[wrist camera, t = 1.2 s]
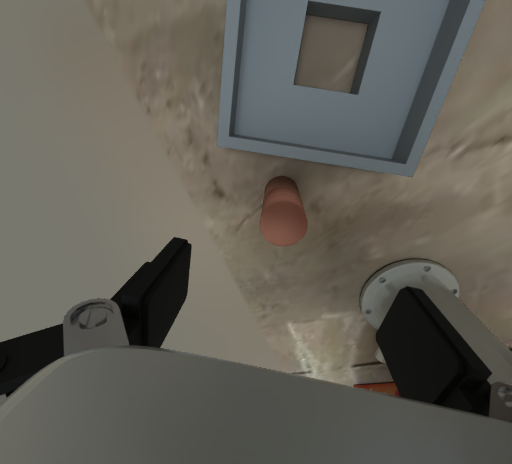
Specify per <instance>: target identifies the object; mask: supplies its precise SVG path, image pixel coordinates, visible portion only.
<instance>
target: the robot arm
mask: <svg viewBox="0 0 512 464" xmlns="http://www.w3.org/2000/svg"><path fill="white" fill-rule="evenodd" d="M190 257H191V244H189V243H188V241H187V240H185V239H180V238H176V237H174V238H173V239H172V240H171V241H170V242H169V243H168V244H167V245H166V246H165V247H164V249H163V250H162V251H161V252H160V253H159V254H158V255H157V256H156V257H155V259H154V260H153V261H152V262H146V263H145V264H144V265H142V266H141V268H140V269H139V270H138V271H137V272H136V273H135V274H134V275H133V276H132V277H131V278H130V279H129V280H128V281H127V282H126V283H125V285H123V287H122V288H121V289H120V290H119V291H118V292H117V293H116V294H115V295H114V296H113V297H112V298H111V299H110V300H108V299H101V298H100V299H99V298H98V299H90V300H87V301H84V302H81V303H79V304H77V305H75V306H74V307H72V308H71V309H70V310H69V311H68V312H67V313H66V315H65V316H64V320H63V324H60V325H56V326H53V327H50V328H46V329H43V330H40V331H37V332H33V333H30V334H26V335H23V336H20V337H17V338H13V339H10V340H7V341H3V342H0V464H512V352H511V351H510V350H509V349H508V348H507V347H506V346H505V345H504V344H503V343H502V342H501V341H500V340H499V339H498V338H497V337H496V336H495V335H494V334H493V333H492V332H491V331H490V330H489V329H488V328H487V327H486V326H485V325H484V324H483V323H482V322H481V321H480V320H479V319H478V318H477V317H476V316H475V315H474V314H473V313H472V312H471V311H470V310H469V309H468V308H467V307H466V306H465V305H464V304H463V303H462V302H461V301H460V300H459V296H460V288H459V284H458V281H457V280H456V278H455V277H454V275H453V274H452V273H451V272H449V271H448V270H447V269H446V268H445V267H443V266H442V265H440V264H438V263H435V262H433V261H428V260H423V259H411V260H403V261H400V262H396V263H393V264H391V265H389V266H386V267H384V268H383V269H381V270H380V271H378V272H377V273H376V274H374V275H373V276H372V277H371V278H370V279H369V280H368V282H367V283H366V284H365V286H364V288H363V290H362V293H361V296H360V306H361V311H362V313H363V315H364V317H365V319H366V320H367V322H368V323H369V324H370V325H371V326H373V327H374V328H376V329H377V330H378V331H377V333H376V341H377V343H378V348H377V350H376V352H375V357H376V358H377V360H378V361H380V362H382V363H386V364H387V366H388V368H389V371H390V373H391V375H392V378H393V380H394V382H395V385H396V387H397V389H398V391H399V394H400V396H401V397H398V396H393V395H389V394H384V393H380V392H375V391H371V390H366V389H361V388H356V387H352V386H347V385H342V384H338V383H333V382H328V381H324V380H319V379H314V378H309V377H305V376H300V375H295V374H290V373H286V372H281V371H276V370H271V369H266V368H261V367H256V366H252V365H247V364H242V363H237V362H232V361H227V360H222V359H217V358H212V357H207V356H202V355H197V354H192V353H186V352H180V351H175V350H169V349H163V348H160V347H161V345H162V343H163V341H164V339H165V337H166V335H167V333H168V332H169V330H170V328H171V326H172V324H173V322H174V320H175V319H176V317H177V315H178V313H179V311H180V309H181V307H182V305H183V303H184V301H185V299H186V296H187V291H188V280H189V269H190Z"/></svg>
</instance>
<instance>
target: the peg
mask: <svg viewBox="0 0 512 464" xmlns="http://www.w3.org/2000/svg"><path fill="white" fill-rule="evenodd" d="M260 228H261V232H262V234H263V236H264V237H265V238H266V239H267V240H268V241H269V242H271V243H273V244H275V245H279V246H288V245H292V244H294V243H296V242H298V241H299V240H300V239H301V238H302V237H303V236H304V235H305V233H306V230H307V218H306V215H305V211H304V208H303V205H302V201H301V198H300V195H299V191H298V188H297V185H296V183H295V182H294V181H293V180H292V179H290V178H288V177H285V176H279V177H275V178H273V179H272V180H270V181H269V182H268V184H267V186H266V188H265V194H264V201H263V208H262V214H261V221H260Z"/></svg>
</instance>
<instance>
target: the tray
mask: <svg viewBox="0 0 512 464" xmlns="http://www.w3.org/2000/svg"><path fill="white" fill-rule="evenodd" d="M484 3H485V0H227V9H226V23H225V37H224V51H223V66H222V80H221V94H220V108H219V123H218V137H217V146H218V147H225V148H231V149H237V150H244V151H250V152H256V153H263V154H269V155H275V156H282V157H288V158H294V159H301V160H307V161H313V162H320V163H326V164H332V165H339V166H345V167H351V168H358V169H364V170H370V171H377V172H383V173H389V174H396V175H402V176H408V177H413V175H414V172H415V170H416V167H417V165H418V163H419V160H420V158H421V155H422V153H423V150H424V148H425V146H426V143H427V141H428V138H429V136H430V134H431V131H432V129H433V126H434V124H435V121H436V119H437V117H438V114H439V112H440V109H441V107H442V104H443V102H444V100H445V97H446V95H447V92H448V90H449V88H450V85H451V83H452V80H453V78H454V75H455V73H456V71H457V68H458V66H459V63H460V61H461V59H462V56H463V54H464V51H465V49H466V46H467V44H468V42H469V39H470V37H471V34H472V32H473V29H474V27H475V25H476V22H477V20H478V17H479V15H480V13H481V10H482V8H483V5H484ZM306 14H308V15H314V16H321V17H327V18H334V19H340V20H347V21H353V22H359V23H366V24H369V25H368V29H367V33H366V36H365V40H364V44H363V48H362V51H361V55H360V59H359V63H358V66H357V70H356V74H355V78H354V81H353V85H352V89H351V93H350V94H349V93H343V92H336V91H330V90H323V89H317V88H311V87H304V86H298V85H293V83H294V78H295V72H296V66H297V61H298V55H299V50H300V44H301V38H302V33H303V27H304V21H305V16H306Z"/></svg>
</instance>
